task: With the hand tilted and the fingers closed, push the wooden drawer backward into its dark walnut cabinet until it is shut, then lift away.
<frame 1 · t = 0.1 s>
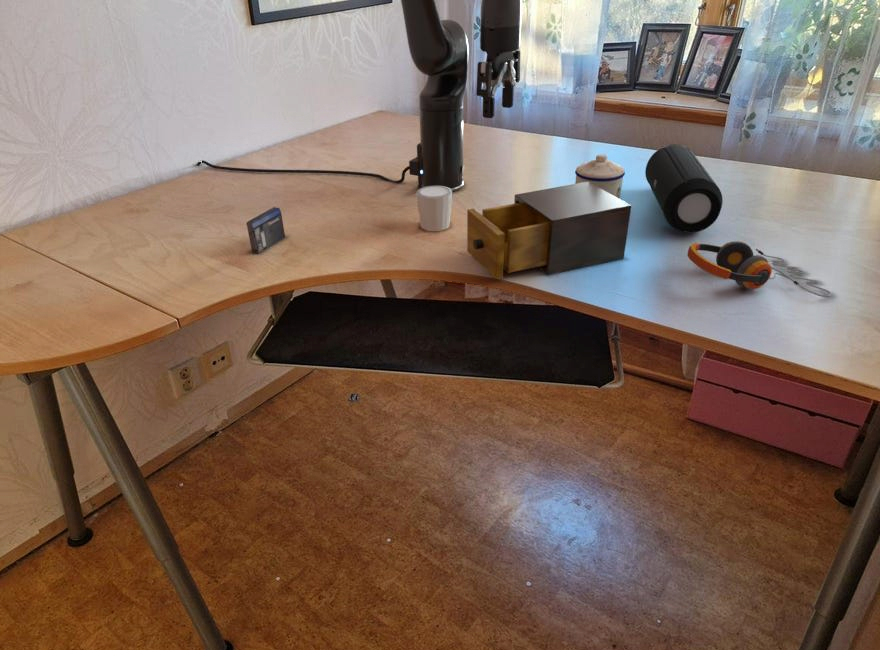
hand: (498, 112, 131), 17 cm above the table, tool pointing down, fingers open, 8 cm apart
white faceted cylinder: (435, 226, 129), on the table
headphones: (747, 280, 104), on the table
cabinet: (566, 251, 116), on the table
mini dv tape: (269, 245, 125), on the table
teacup with lid: (594, 212, 130), on the table
wooden drawer: (514, 237, 111), point 5 cm above the table, slide at 8.0 cm
portable speaker: (676, 212, 128), on the table
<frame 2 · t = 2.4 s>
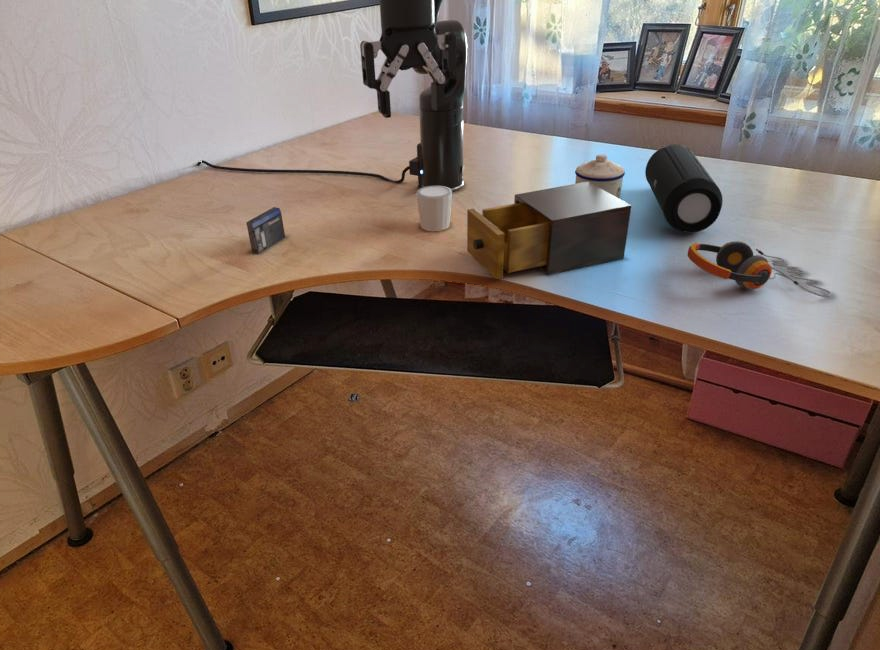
hand: (411, 113, 98), 26 cm above the table, tool pointing down, fingers open, 7 cm apart
nothing on the table moved.
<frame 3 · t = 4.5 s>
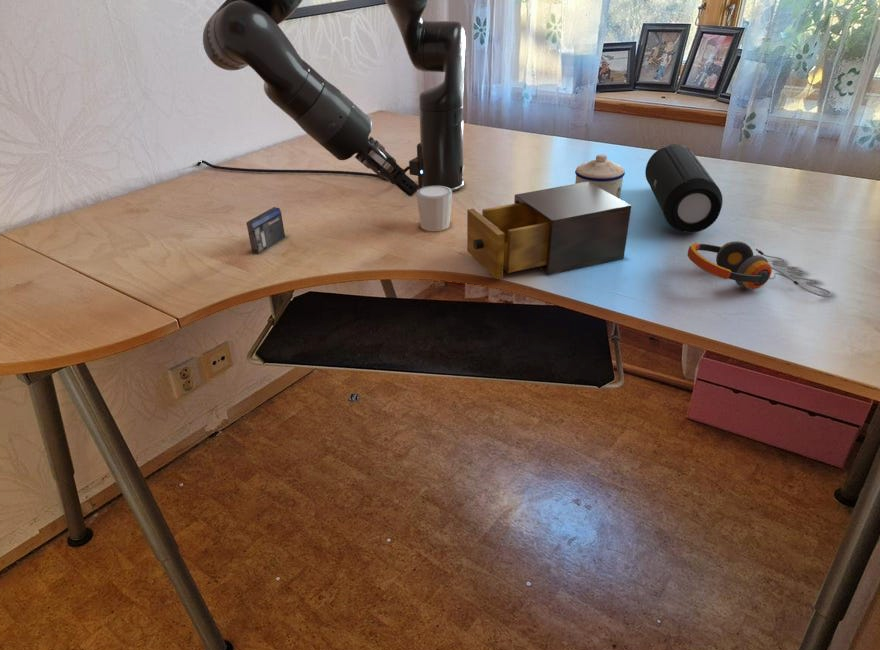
hand: (413, 190, 104), 14 cm above the table, tool tilted 45°, fingers closed
nothing on the table moved.
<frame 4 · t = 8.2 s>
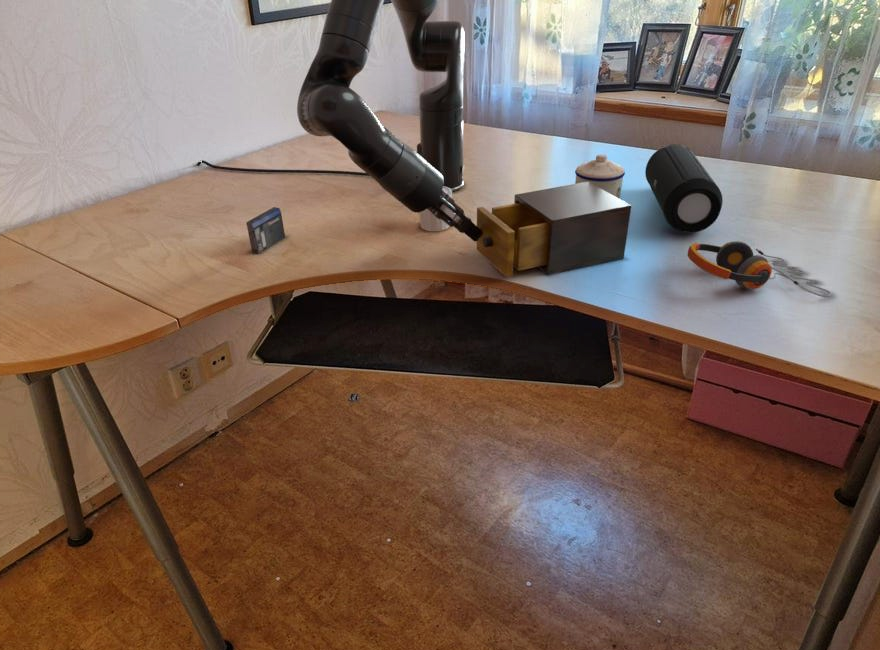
hand: (477, 235, 113), 4 cm above the table, tool tilted 45°, fingers closed
wooden drawer: (524, 235, 111), point 5 cm above the table, slide at 6.2 cm
everything else where it was.
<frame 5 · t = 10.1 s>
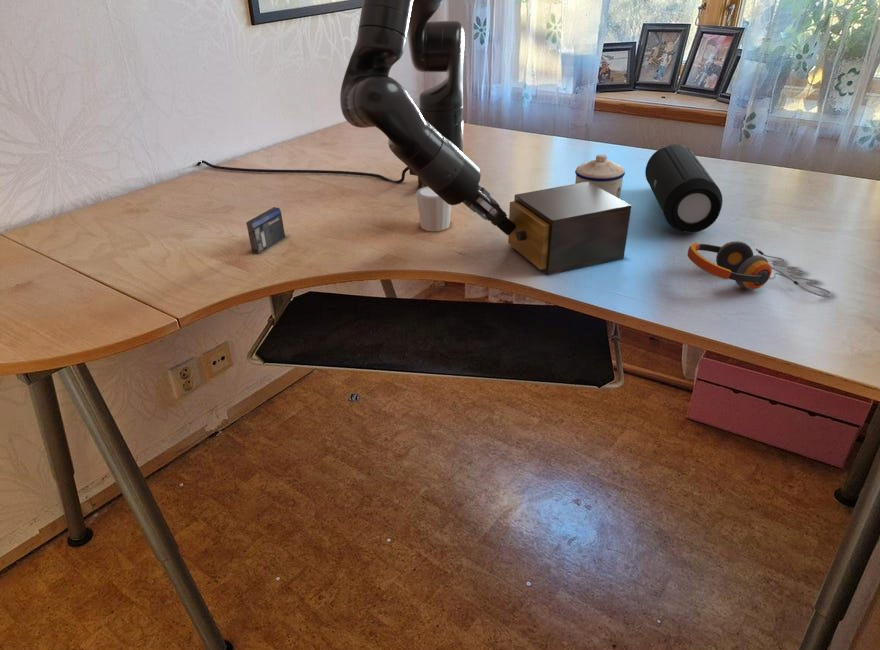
hand: (510, 229, 114), 4 cm above the table, tool tilted 45°, fingers closed
wooden drawer: (556, 228, 112), point 5 cm above the table, slide at 0.0 cm, touching cabinet, gripper
everything else where it was.
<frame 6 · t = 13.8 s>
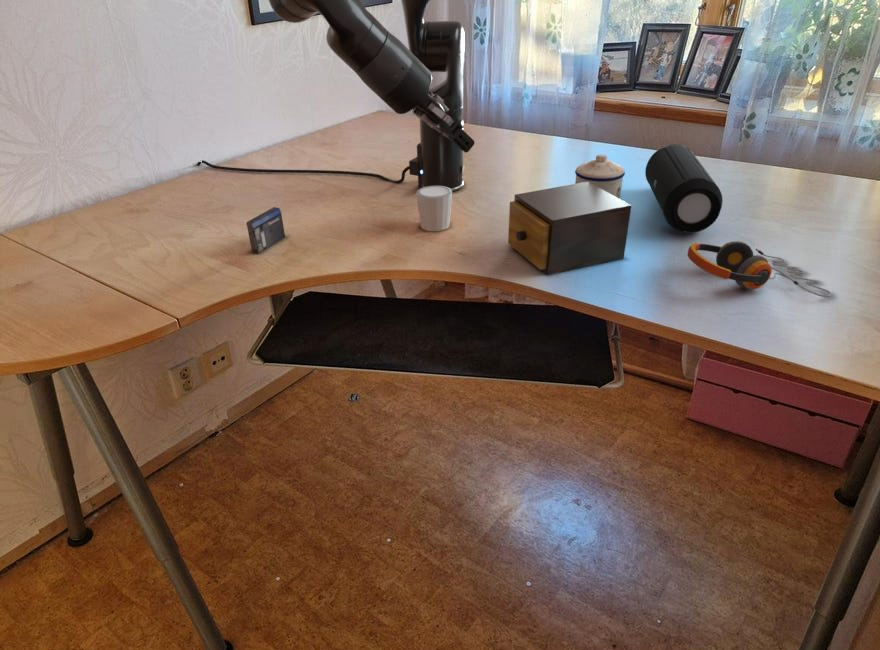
hand: (469, 146, 104), 20 cm above the table, tool tilted 45°, fingers closed
wooden drawer: (556, 228, 112), point 5 cm above the table, slide at 0.0 cm
everything else where it was.
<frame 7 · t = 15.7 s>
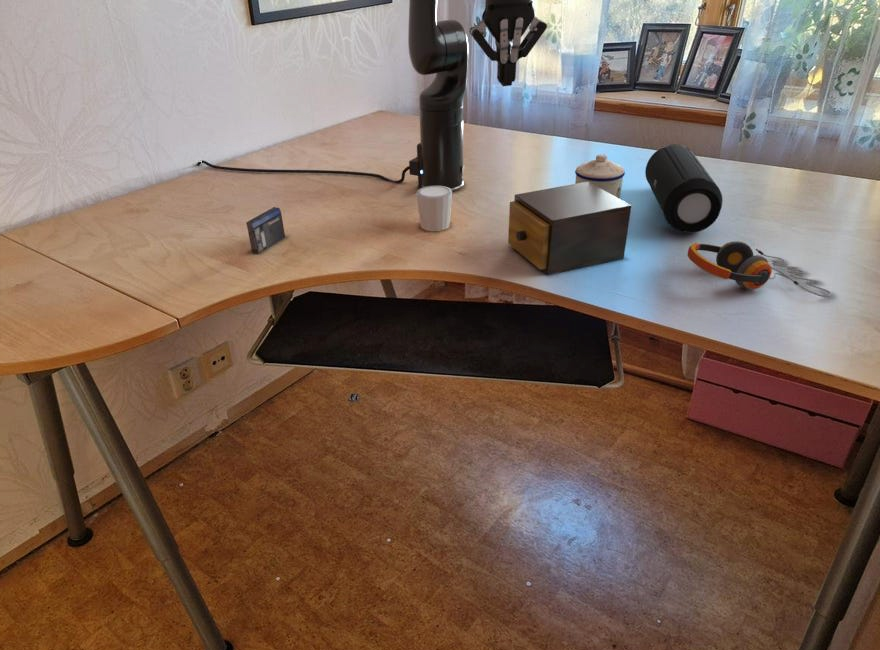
hand: (505, 84, 112), 26 cm above the table, tool pointing down, fingers closed
nothing on the table moved.
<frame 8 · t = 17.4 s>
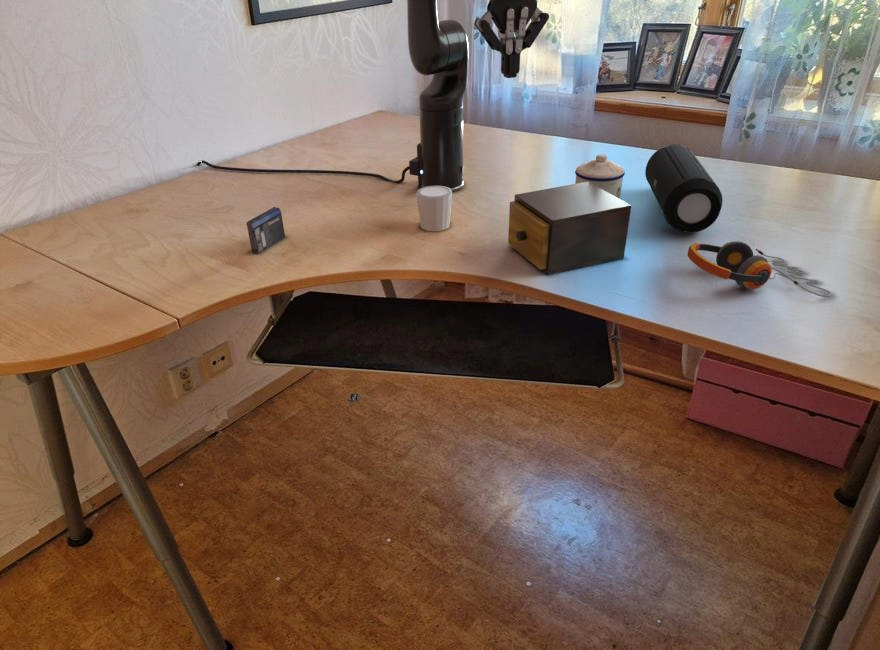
hand: (509, 76, 112), 27 cm above the table, tool pointing down, fingers closed
nothing on the table moved.
at the end: wooden drawer slide at 0.0 cm; white faceted cylinder moved 0.2 cm from its start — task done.
